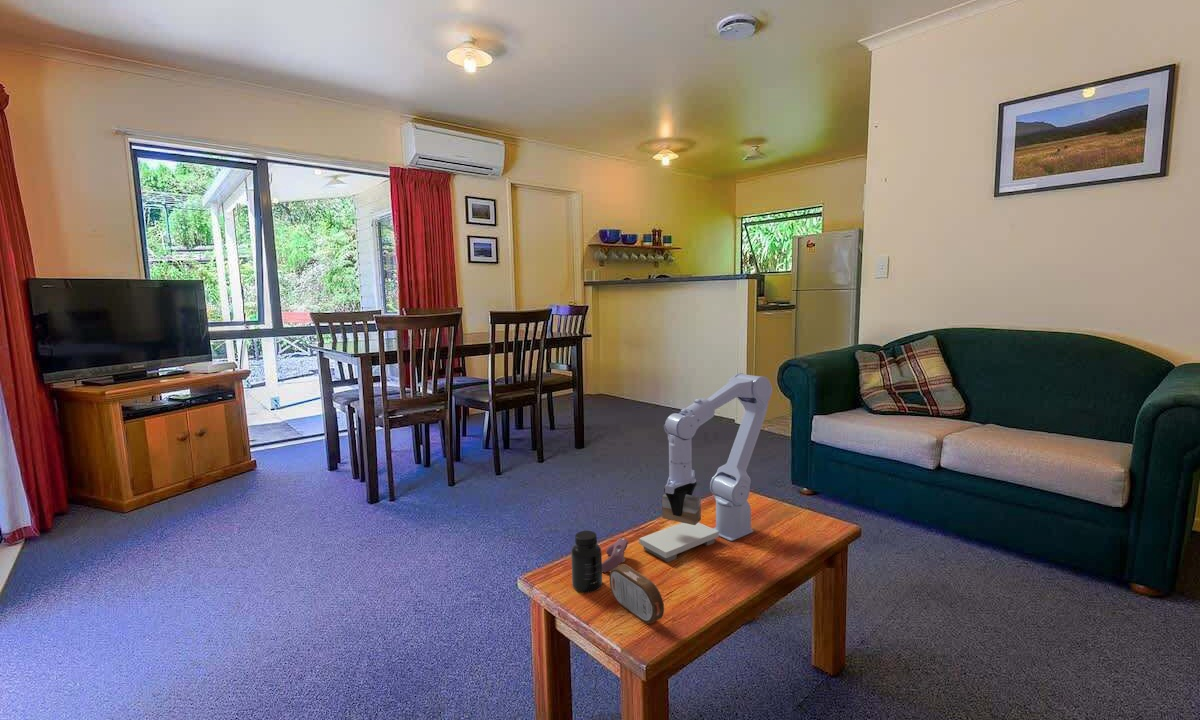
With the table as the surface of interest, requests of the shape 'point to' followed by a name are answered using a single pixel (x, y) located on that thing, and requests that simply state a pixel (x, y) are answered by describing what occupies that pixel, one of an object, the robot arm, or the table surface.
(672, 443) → the robot arm
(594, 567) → the supplement bottle
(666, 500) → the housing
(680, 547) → the stand
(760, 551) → the table surface
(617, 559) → the video game controller
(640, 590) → the tin
